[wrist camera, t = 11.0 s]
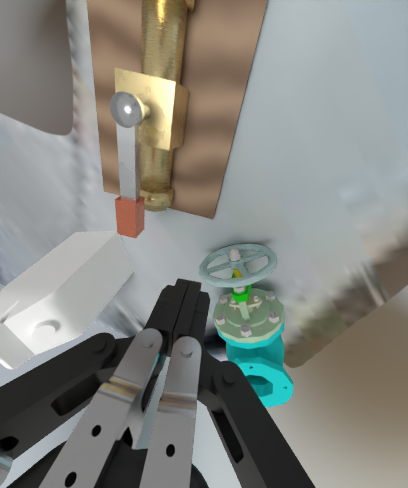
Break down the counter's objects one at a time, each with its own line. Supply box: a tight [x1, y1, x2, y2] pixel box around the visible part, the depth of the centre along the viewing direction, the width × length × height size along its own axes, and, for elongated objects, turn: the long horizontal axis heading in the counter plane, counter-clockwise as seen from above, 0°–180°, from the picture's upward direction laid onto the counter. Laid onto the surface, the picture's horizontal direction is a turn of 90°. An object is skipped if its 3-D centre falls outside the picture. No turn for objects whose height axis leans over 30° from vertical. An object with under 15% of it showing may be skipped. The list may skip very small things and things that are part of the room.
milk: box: [0, 231, 134, 370], centre depth 38 cm, size 12×12×26 cm
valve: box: [199, 244, 293, 407], centre depth 40 cm, size 14×18×30 cm
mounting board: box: [87, 0, 268, 219], centre depth 30 cm, size 30×22×2 cm
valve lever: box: [110, 91, 145, 238], centre depth 24 cm, size 3×16×3 cm, turn 170°
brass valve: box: [114, 0, 195, 211], centre depth 26 cm, size 28×7×11 cm, turn 169°
